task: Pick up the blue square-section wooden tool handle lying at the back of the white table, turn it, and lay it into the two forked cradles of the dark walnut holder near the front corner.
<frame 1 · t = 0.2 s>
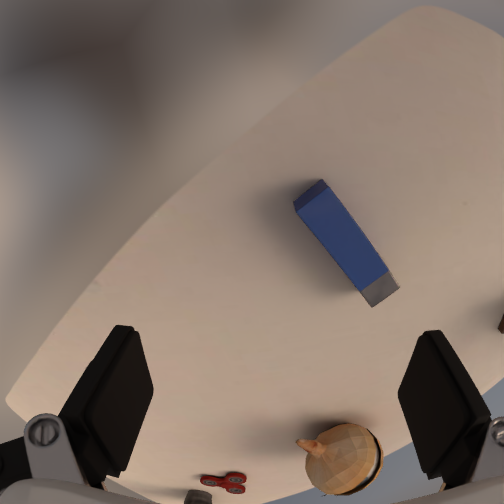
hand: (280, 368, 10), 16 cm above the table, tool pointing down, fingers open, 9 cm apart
fidget spinner: (229, 480, 42), on the table
sculpture: (335, 427, 34), on the table
beverage cup: (199, 493, 45), on the table
handle: (345, 238, 24), on the table
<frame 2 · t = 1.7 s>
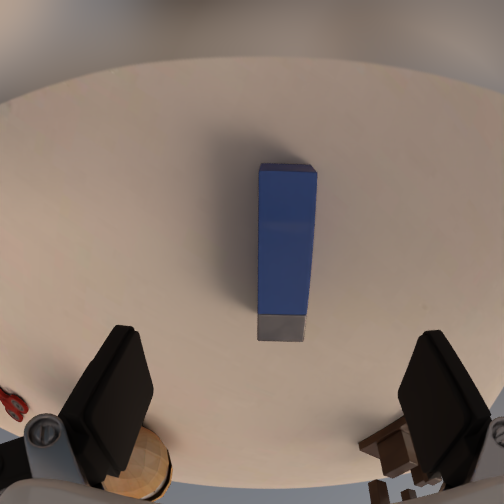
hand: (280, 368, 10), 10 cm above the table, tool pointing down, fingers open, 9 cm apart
fidget spinner: (12, 401, 31), on the table
sculpture: (136, 425, 28), on the table
handle: (283, 246, 19), on the table
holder: (406, 440, 27), on the table
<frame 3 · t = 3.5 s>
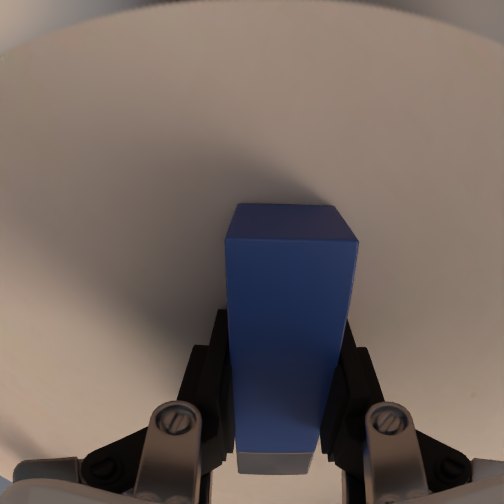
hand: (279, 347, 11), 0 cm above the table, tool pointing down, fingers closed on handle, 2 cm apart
handle: (279, 343, 11), on the table, touching gripper
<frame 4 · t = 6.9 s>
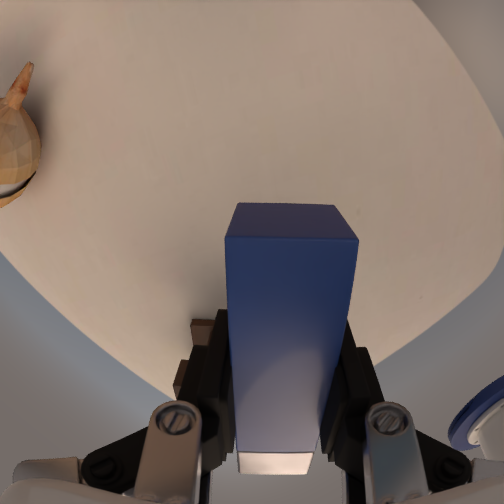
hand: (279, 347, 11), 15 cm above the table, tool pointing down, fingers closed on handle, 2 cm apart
sculpture: (29, 137, 22), on the table
handle: (280, 342, 11), point 15 cm above the table, touching gripper
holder: (230, 360, 30), on the table
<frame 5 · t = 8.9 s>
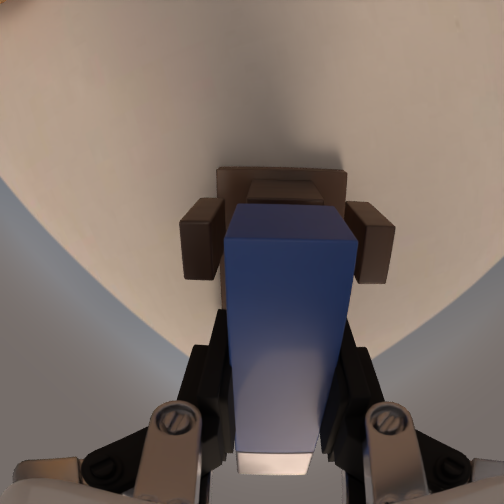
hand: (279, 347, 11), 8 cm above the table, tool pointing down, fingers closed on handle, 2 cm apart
handle: (279, 343, 11), point 8 cm above the table, touching gripper
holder: (279, 254, 18), on the table
when the fingers open (5 cm above the table, at t = 10.1 s): handle stays where it is, resting on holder.
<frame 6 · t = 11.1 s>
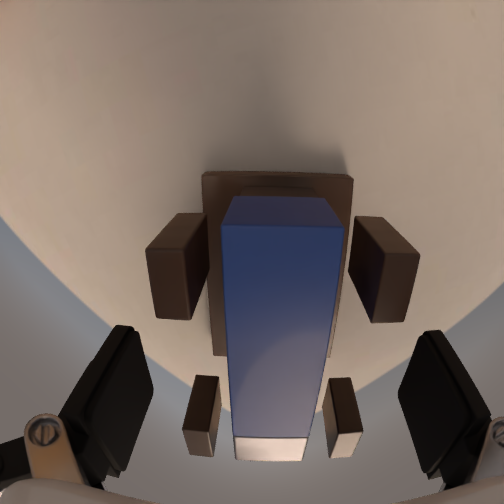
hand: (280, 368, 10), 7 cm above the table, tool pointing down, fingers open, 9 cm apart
handle: (274, 330, 12), point 5 cm above the table, touching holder
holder: (275, 270, 16), on the table
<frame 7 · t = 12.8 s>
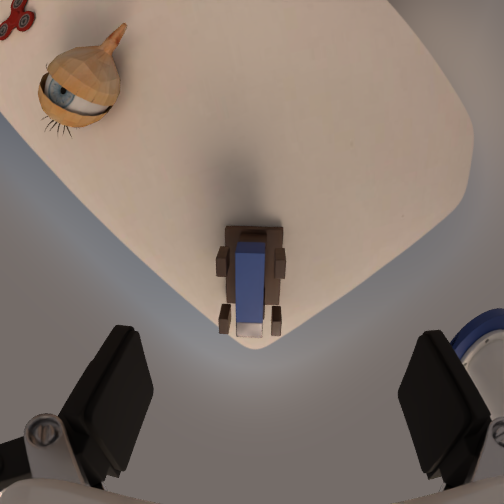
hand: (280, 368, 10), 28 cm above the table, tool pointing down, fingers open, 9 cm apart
fidget spinner: (16, 21, 26), on the table
sculpture: (104, 82, 31), on the table
handle: (250, 285, 35), point 5 cm above the table, touching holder
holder: (253, 265, 39), on the table
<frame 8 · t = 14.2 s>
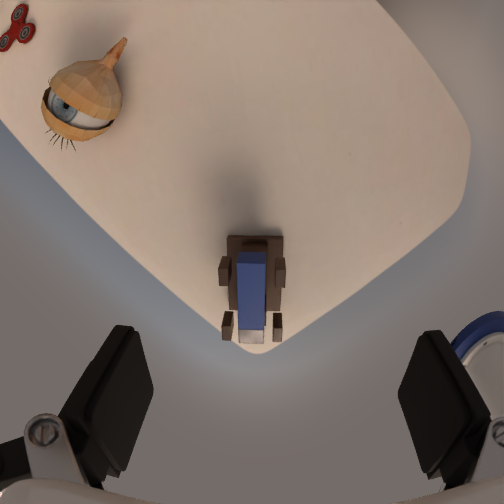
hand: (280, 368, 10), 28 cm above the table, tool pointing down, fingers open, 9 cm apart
fidget spinner: (16, 33, 27), on the table
sculpture: (106, 95, 32), on the table
handle: (252, 293, 36), point 5 cm above the table, touching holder
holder: (255, 273, 40), on the table
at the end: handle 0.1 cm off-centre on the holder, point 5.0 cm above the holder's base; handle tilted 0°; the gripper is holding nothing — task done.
